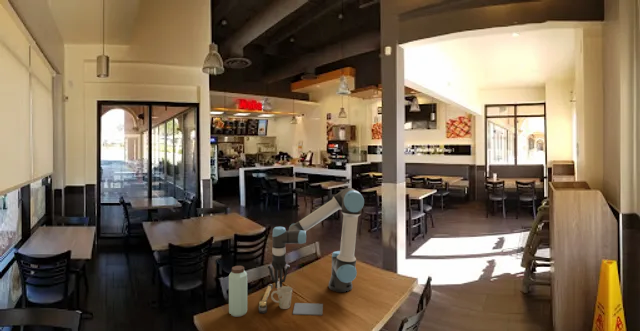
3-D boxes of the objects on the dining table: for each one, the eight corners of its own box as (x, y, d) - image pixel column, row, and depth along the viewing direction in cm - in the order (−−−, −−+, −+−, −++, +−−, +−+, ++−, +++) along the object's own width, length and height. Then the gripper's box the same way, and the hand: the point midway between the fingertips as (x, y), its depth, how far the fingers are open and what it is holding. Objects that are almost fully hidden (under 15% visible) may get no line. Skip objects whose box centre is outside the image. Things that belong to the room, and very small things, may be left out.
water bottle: (231, 319, 181) (230, 272, 179) (226, 310, 190) (226, 266, 188) (250, 315, 186) (249, 269, 184) (244, 306, 195) (244, 263, 193)
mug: (289, 310, 191) (289, 293, 190) (268, 308, 193) (268, 291, 193) (294, 303, 199) (294, 286, 198) (273, 301, 201) (273, 284, 201)
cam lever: (273, 288, 213) (273, 283, 212) (265, 308, 187) (265, 302, 187) (267, 287, 213) (267, 282, 213) (258, 308, 187) (258, 302, 187)
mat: (323, 304, 198) (323, 303, 198) (322, 315, 186) (322, 314, 186) (295, 303, 199) (295, 302, 199) (292, 314, 187) (292, 313, 187)
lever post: (267, 309, 192) (267, 304, 191) (266, 313, 187) (266, 308, 187) (259, 309, 192) (259, 304, 192) (258, 313, 187) (258, 308, 187)
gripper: (290, 252, 205) (290, 290, 207) (268, 251, 206) (268, 290, 207) (289, 256, 198) (289, 296, 199) (266, 255, 198) (266, 295, 200)
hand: (278, 293), depth 203 cm, fingers closed
